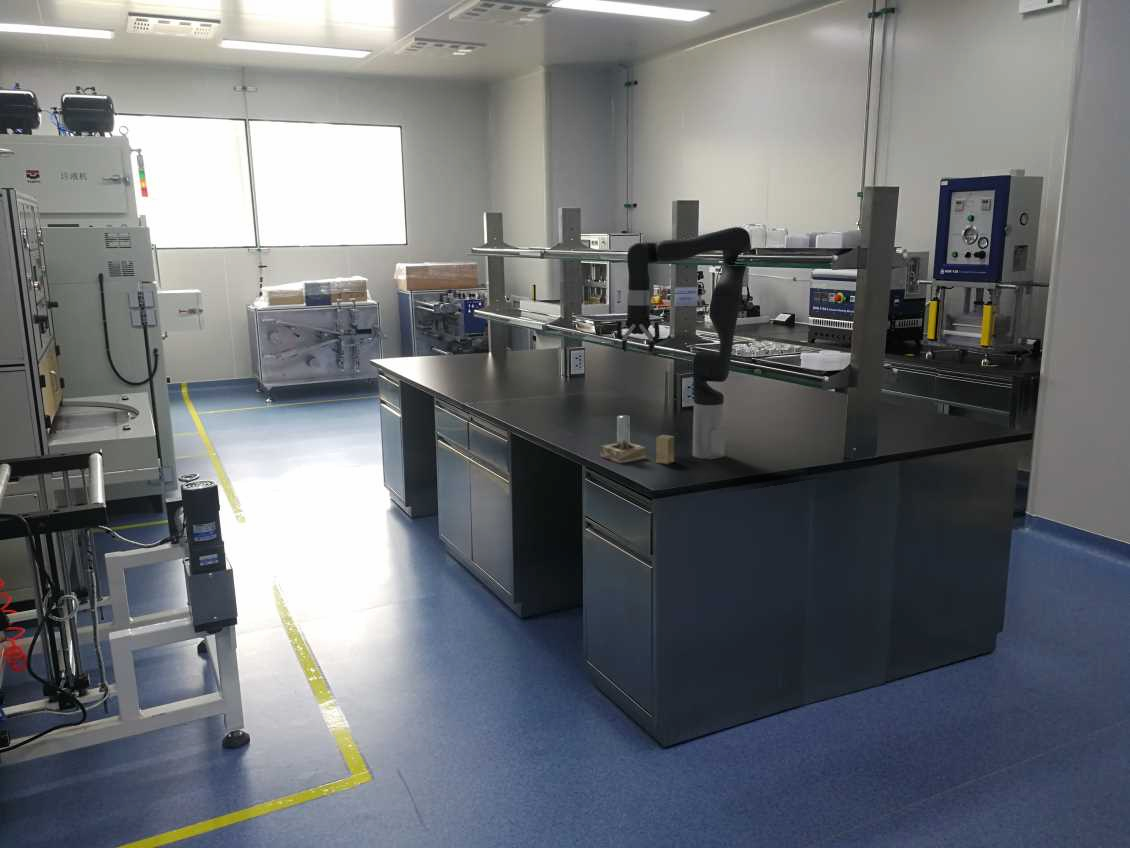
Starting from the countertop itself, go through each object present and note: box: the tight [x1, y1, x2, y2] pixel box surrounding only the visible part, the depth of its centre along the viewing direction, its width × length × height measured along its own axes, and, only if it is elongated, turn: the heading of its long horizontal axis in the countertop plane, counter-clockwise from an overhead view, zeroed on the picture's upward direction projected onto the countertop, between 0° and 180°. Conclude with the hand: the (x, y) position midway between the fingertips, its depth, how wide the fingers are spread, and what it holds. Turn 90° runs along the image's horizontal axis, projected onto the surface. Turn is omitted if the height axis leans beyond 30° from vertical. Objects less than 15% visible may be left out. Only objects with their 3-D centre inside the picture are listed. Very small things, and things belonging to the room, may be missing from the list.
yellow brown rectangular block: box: [655, 434, 675, 465], centre depth 262 cm, size 4×4×8 cm
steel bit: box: [616, 414, 631, 450], centre depth 267 cm, size 4×4×12 cm
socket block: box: [600, 442, 646, 464], centre depth 268 cm, size 10×10×4 cm
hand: (637, 352), depth 288 cm, fingers open, 8 cm apart
